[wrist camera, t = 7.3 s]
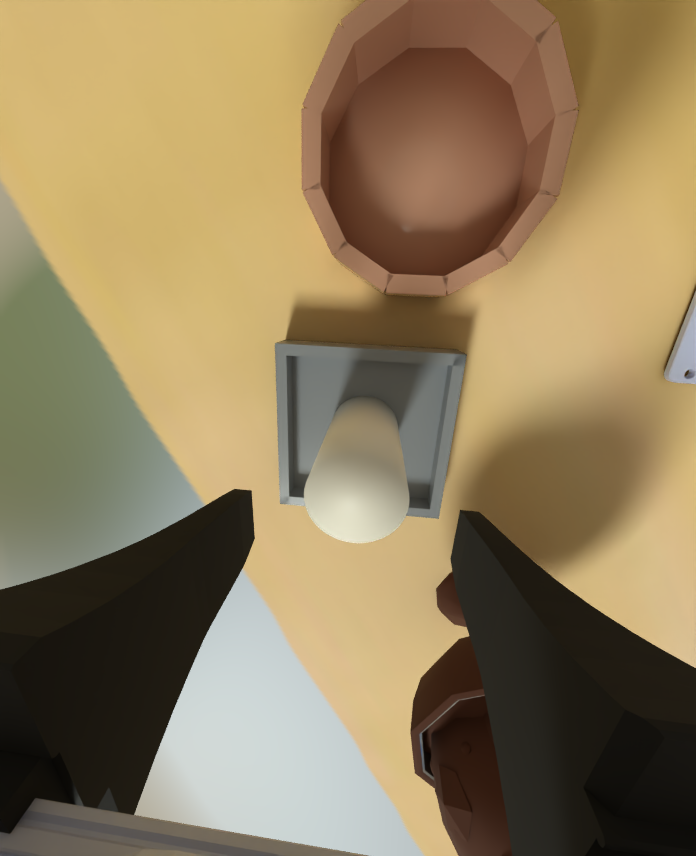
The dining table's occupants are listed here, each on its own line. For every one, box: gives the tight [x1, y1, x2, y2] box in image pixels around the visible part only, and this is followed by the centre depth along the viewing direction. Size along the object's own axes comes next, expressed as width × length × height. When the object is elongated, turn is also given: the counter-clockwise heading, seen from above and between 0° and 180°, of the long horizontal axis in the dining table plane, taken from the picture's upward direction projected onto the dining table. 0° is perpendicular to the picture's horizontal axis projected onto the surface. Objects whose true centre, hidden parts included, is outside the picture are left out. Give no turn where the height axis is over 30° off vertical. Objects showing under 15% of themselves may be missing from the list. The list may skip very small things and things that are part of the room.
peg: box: [304, 396, 410, 543], centre depth 16 cm, size 4×4×8 cm
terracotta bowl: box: [302, 0, 579, 297], centre depth 15 cm, size 11×11×3 cm
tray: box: [275, 340, 467, 519], centre depth 20 cm, size 10×10×2 cm
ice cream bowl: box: [411, 573, 512, 856], centre depth 18 cm, size 11×11×15 cm
